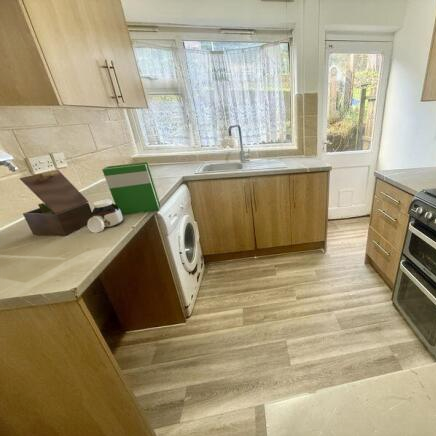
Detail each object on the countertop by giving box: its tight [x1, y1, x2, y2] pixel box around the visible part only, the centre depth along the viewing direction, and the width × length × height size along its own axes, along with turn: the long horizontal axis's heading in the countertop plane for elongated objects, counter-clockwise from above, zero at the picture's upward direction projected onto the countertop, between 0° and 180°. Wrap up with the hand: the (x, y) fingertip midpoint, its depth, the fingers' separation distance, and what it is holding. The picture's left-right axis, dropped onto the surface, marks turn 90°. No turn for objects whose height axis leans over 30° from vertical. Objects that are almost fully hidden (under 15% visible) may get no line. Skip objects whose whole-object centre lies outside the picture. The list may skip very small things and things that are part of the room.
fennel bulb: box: [37, 202, 55, 214], centre depth 107 cm, size 6×5×12 cm
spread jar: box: [86, 198, 124, 234], centre depth 108 cm, size 12×11×12 cm
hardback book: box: [101, 161, 161, 216], centre depth 122 cm, size 18×7×24 cm, turn 111°
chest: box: [22, 202, 93, 237], centre depth 109 cm, size 17×15×10 cm
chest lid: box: [19, 169, 89, 214], centre depth 103 cm, size 17×15×5 cm
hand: (6, 172), depth 97 cm, fingers open, 8 cm apart
